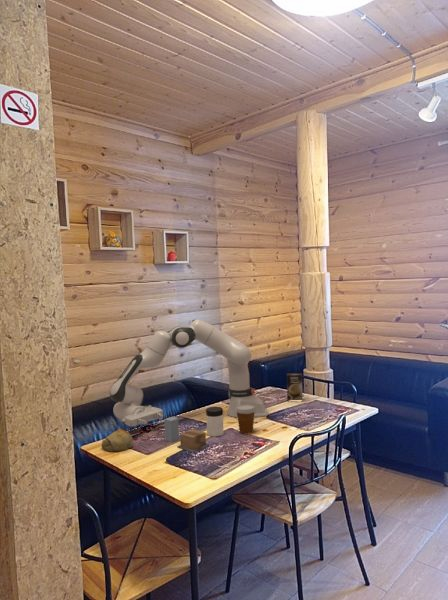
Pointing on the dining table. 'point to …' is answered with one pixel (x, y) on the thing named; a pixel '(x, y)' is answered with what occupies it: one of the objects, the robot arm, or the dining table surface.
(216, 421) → the jar
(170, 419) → the pillar
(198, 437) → the plinth
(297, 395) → the coffee box
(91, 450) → the dining table surface
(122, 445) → the olive brown rounded lump
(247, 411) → the disposable coffee cup
